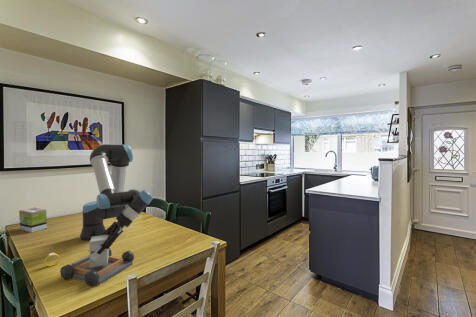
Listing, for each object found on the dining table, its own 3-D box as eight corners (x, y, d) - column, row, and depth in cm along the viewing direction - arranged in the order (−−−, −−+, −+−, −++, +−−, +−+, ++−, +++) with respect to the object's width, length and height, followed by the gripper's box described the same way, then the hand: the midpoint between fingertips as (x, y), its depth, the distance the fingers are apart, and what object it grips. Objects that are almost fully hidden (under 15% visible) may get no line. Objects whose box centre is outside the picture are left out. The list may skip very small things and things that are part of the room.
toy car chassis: (59, 278, 105) (59, 265, 105) (102, 256, 126) (102, 246, 126) (95, 287, 98) (95, 273, 98) (134, 263, 119) (134, 251, 119)
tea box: (19, 230, 168) (18, 210, 167) (35, 226, 177) (35, 207, 177) (31, 233, 162) (30, 212, 162) (47, 228, 172) (47, 208, 171)
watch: (45, 268, 114) (43, 257, 113) (45, 266, 116) (43, 255, 115) (60, 263, 118) (59, 252, 117) (59, 262, 120) (58, 251, 119)
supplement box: (89, 268, 107) (88, 241, 107) (92, 261, 114) (91, 236, 113) (107, 265, 110) (106, 239, 110) (109, 258, 117) (108, 233, 116)
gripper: (137, 226, 112) (100, 268, 103) (128, 216, 129) (95, 251, 120) (125, 217, 109) (86, 260, 100) (117, 208, 126) (83, 244, 117)
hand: (91, 255), depth 110 cm, fingers closed on supplement box, 8 cm apart
